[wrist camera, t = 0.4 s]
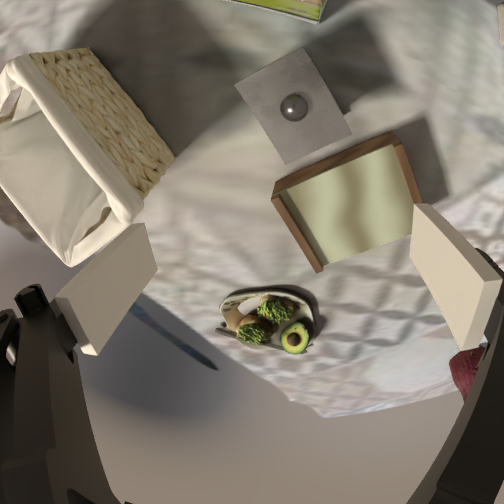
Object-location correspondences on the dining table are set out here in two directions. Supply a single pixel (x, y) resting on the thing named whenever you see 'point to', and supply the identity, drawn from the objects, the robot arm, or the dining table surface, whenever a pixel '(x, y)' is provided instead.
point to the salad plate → (270, 321)
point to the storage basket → (75, 151)
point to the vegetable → (465, 369)
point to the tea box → (291, 8)
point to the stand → (349, 201)
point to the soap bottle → (501, 22)
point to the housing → (294, 106)
